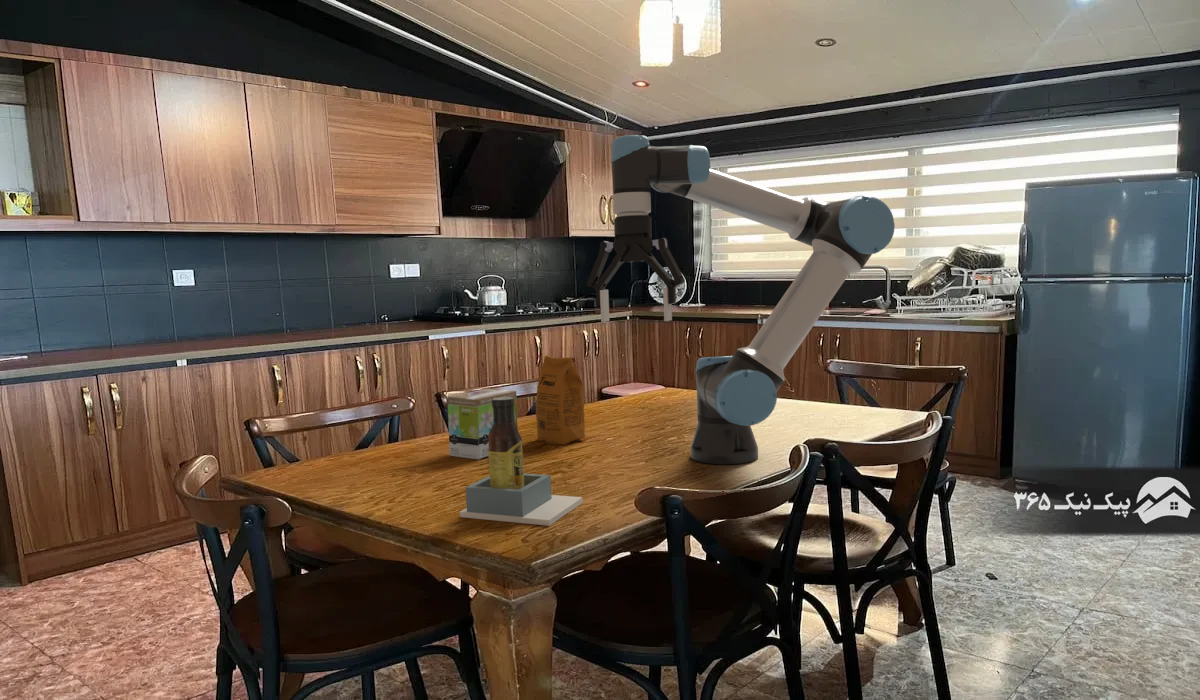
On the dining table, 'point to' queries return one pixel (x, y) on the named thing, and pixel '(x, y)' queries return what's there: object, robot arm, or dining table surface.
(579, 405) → the coffee package
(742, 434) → the robot arm
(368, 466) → the dining table surface
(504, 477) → the sauce bottle
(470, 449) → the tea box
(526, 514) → the bottle dock
